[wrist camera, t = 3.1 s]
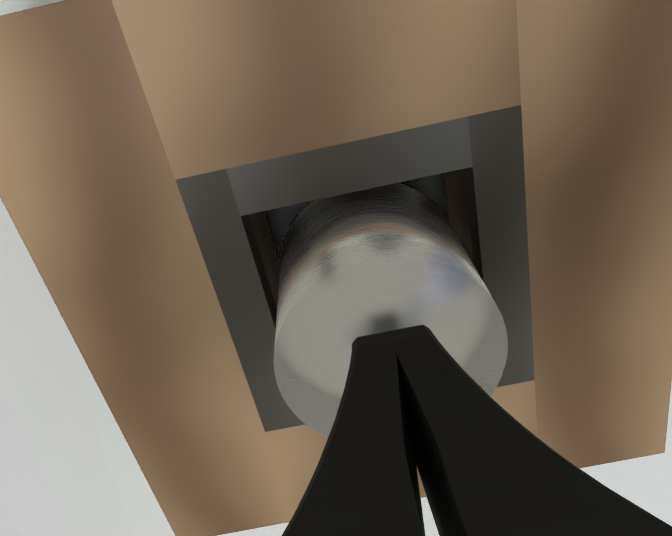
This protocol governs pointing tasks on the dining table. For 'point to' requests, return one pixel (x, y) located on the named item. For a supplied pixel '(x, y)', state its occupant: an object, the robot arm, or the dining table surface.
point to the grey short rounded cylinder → (375, 294)
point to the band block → (331, 180)
